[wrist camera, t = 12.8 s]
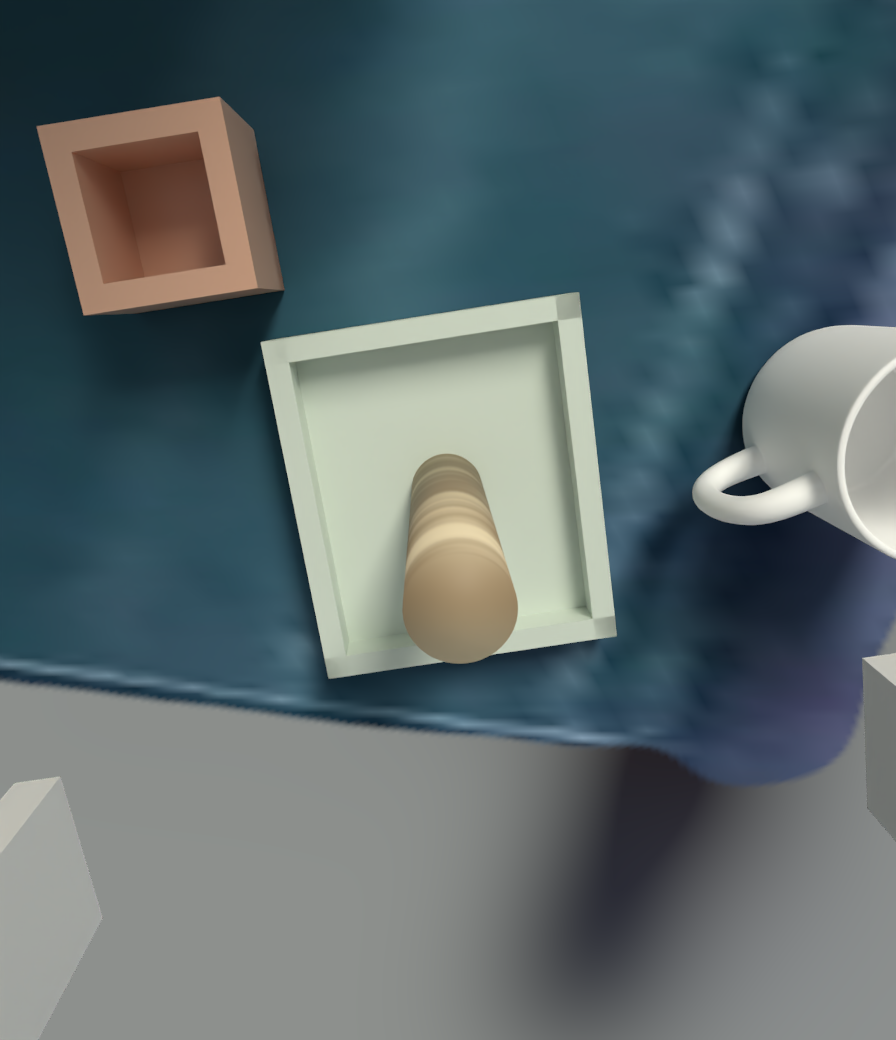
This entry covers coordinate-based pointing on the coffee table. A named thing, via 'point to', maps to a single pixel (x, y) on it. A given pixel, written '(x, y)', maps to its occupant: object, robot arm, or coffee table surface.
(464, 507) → the pin
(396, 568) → the tray
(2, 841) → the robot arm
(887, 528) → the cup
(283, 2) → the coffee table surface
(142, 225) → the holder
